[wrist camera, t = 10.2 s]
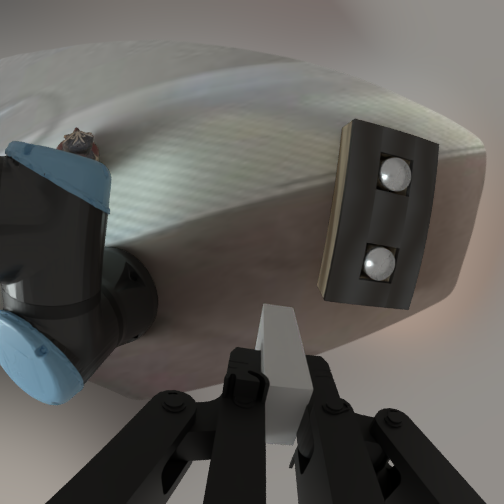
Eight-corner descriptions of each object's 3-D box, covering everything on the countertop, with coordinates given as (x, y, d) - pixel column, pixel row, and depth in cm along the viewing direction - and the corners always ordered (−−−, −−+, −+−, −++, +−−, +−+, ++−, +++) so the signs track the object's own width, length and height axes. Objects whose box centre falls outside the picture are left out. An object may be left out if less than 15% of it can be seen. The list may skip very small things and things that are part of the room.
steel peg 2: (350, 266, 39) (362, 278, 34) (356, 238, 39) (369, 245, 33) (376, 270, 39) (390, 282, 34) (382, 242, 39) (398, 250, 33)
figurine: (101, 140, 39) (112, 118, 29) (95, 185, 40) (104, 178, 30) (57, 138, 35) (55, 115, 25) (52, 184, 35) (45, 176, 26)
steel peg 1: (365, 187, 37) (379, 187, 32) (368, 158, 36) (384, 154, 31) (391, 193, 37) (408, 194, 32) (395, 164, 36) (412, 162, 31)
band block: (317, 285, 41) (324, 300, 35) (342, 128, 36) (354, 118, 30) (392, 294, 41) (408, 309, 35) (418, 148, 36) (439, 144, 30)
